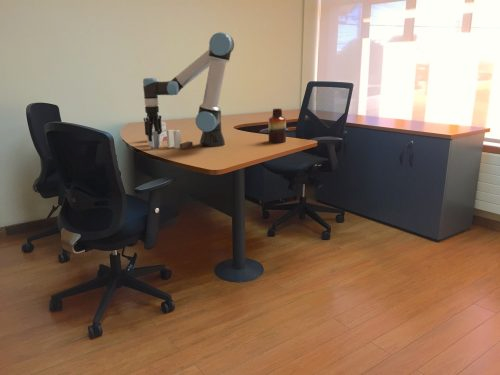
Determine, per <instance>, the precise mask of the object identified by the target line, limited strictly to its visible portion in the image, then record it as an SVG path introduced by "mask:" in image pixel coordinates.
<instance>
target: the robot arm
mask: <svg viewBox="0 0 500 375" xmlns="http://www.w3.org/2000/svg"><path fill="white" fill-rule="evenodd" d="M208 44H209V45H208V50H206V51H205V52H204V53H203V54H201V55H200V56H199V57H198V58H196V60H194V61H193V62H191V63H190V64H189V65H188V66H186V68H185V69H183V70H182V71H181V72H180V73H178V74H177V75H176V76H175V77H173V78H172V79H171V80H168V81H157V78H155V77H147V78H146V77H145V78H143V80H142V83H143V85H142V87H143V97H144V109H145V113H146V116H145V117H143V122H144V132H145V133H144V134H145V136H146V137H147V136H148V139H149V146H148V147H150V148H151V147H154V140H153V136H152V130H153V124H154V128H155V131H158V144H159V146H161V145H160V134H161V132H162V125H161V122H162V115H159V114H158V113H160V108H159V97H158V96H177V95H178V94H179V93H180V91H181V90H182V89H183V88H184V87H186V86H187V85H188V84H189V83H190V82H192V81H193V80H195V79H196V78H197V77H198V76H199V75H200V74H201V73H203V72H204V71H206V70H207V69H208V71H207V77H206V78H207V79H206V84H205V89H204V95H203V99H202V103H200V104H199V108H198V113H197V115H196V117H195V125H196V128H197V129H198V130H200V131H202V133H201V136H200V140H199V144H200V146H202V147H210V148H211V147H212V148H213V147H215V148H216V147H221V146H225V145H226V140H225V137H224V136H223V132H222V111H221V110H222V109H221V107H220V106H219V101H220V97H221V92H222V86H223V80H224V75H225V72H226V71H225V69H226V66H227V63H229V62H230V60H231V59H230V57H231V54H232V52H233V51H234V48H235V43H234V39H233V37H232V36H231V35H229V34H228V33H226V32H222V31H218V32H216V33H214V34H213V35H211V37H210V39H209V43H208Z"/></svg>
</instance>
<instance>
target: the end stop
mask: <svg viewBox="0 0 500 375" xmlns="http://www.w3.org/2000/svg"><path fill="white" fill-rule="evenodd" d="M193 146H194V144H193V141H185V142H181V144H180V147H179V150H187V149H190V148H193Z"/></svg>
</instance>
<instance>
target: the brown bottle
mask: <svg viewBox="0 0 500 375" xmlns="http://www.w3.org/2000/svg"><path fill="white" fill-rule="evenodd" d="M268 142H269V143H270V142H271V144H283V143H286V142H287V118H286V117H284V116H283V109H282V108H272V116H271V117H269V118H268Z"/></svg>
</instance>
